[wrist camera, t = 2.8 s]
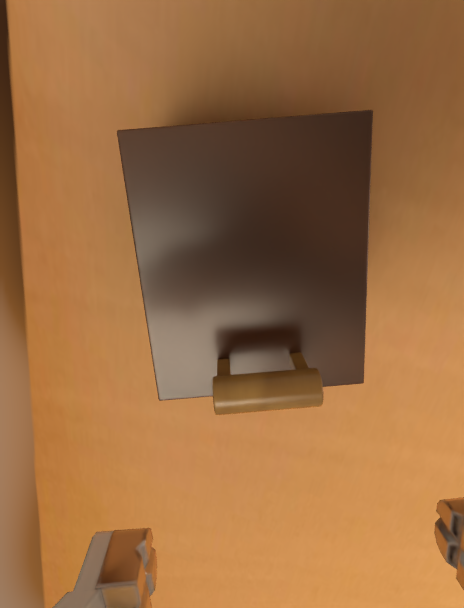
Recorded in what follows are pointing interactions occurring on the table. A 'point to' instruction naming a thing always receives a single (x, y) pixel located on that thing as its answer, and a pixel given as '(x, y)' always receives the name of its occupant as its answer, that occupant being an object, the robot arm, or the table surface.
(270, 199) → the lid
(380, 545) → the table surface
